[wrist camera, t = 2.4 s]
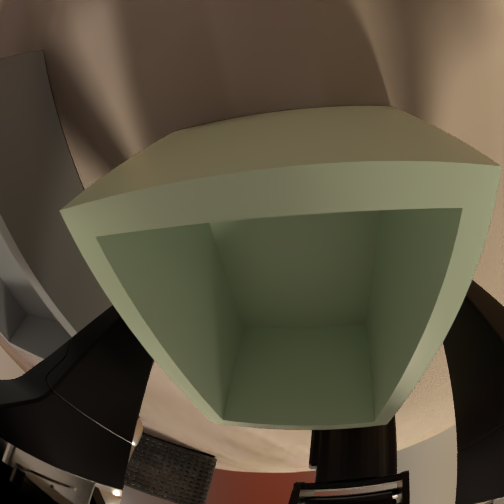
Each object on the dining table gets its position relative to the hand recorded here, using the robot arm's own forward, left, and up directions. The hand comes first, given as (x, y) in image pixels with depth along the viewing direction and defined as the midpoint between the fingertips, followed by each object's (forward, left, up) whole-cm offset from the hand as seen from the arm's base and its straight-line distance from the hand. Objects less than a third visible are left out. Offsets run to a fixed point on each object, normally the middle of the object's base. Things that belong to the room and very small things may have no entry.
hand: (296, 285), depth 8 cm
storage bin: (+35, +52, -2) cm, 62 cm away
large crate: (+16, -2, -2) cm, 16 cm away
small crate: (0, 0, -2) cm, 2 cm away
